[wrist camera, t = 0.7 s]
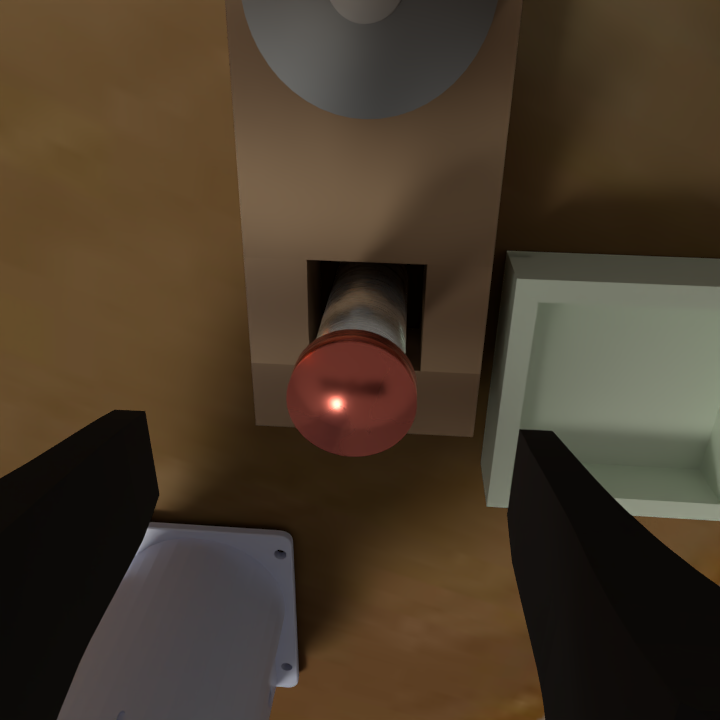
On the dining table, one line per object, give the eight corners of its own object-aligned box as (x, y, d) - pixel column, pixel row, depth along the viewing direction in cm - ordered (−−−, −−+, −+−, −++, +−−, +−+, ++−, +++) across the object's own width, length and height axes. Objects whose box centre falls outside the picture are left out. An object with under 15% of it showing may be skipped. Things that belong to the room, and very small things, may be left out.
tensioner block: (466, 389, 24) (479, 485, 19) (273, 379, 24) (237, 470, 19) (525, -176, 16) (571, -253, 11) (243, -176, 17) (172, -250, 12)
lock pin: (414, 323, 23) (413, 459, 16) (327, 319, 23) (288, 452, 16) (419, 238, 21) (420, 348, 14) (326, 234, 21) (283, 341, 14)
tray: (708, 475, 25) (736, 521, 22) (480, 462, 25) (486, 506, 23) (778, 260, 21) (821, 291, 18) (506, 250, 21) (517, 278, 19)
